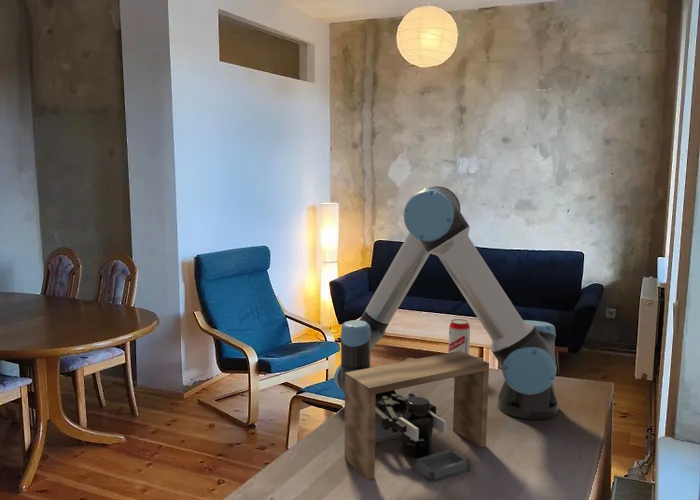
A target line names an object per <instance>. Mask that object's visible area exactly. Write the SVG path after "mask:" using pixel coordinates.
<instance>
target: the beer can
mask: <svg viewBox="0 0 700 500" xmlns="http://www.w3.org/2000/svg"><path fill="white" fill-rule="evenodd" d="M448 327H449V328H448V351H447V353H451V352H457V351H462V352H464V353H467V354H469V355H470V347H471V345H470V344H471V326H470V324H469V321H468V320H467V319H462V318H453V319H452V320H451V321H450V323H449V326H448Z"/></svg>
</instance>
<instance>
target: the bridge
mask: <svg viewBox="0 0 700 500" xmlns="http://www.w3.org/2000/svg"><path fill="white" fill-rule="evenodd" d="M489 371H490V363H489V362H488V361H485V360H483V359H480V358H478V357H476V356H473V355H471V354H470V353H469V354H467V353H464V352H462V351H457V352H451V353H448V352H447V353H440V354H436V355H430V356H426V357H420V358H416V359H414V358H413V359H410V360H404V361H400V362H395V363H388V364H384V365H377V366H373V367H370V368H367V369H362V370H356V371H351V372H346V373H345V393H344V460H345V461H346V462H347V463H348V464H350V465H351V466H352V467H354V469H356V470H357V471H358V473H360V474H361V475H362V476H364V478H365V479H367V480H372V479H375V477H376V476H375V475H376V474H375V470H376V469H375V468H376V467H375V466H376V465H375V464H376V463H375V461H376V459H375V457H376V443H375V394H378V393H382V392H387V391H392V390H394V391H396V390H400V389H404V388H410V387H415V386H419V385H424V384H427V383H433V382H438V381H443V380H446V379H452V378H454V380H453V381H454V384H453V385H454V386H453V414H452V415H453V417H452V423H453V424H452V431H454V432H455V433H457V434H459V435H460V436H462V437H463V438H465V439H467V440H469V442H471V443H473V444H475V445H476V446H478V447H480V448H483V447H487V429H488V428H487V427H488V425H487V424H488V406H489V405H488V401H489V400H488V398H489V378H490V377H489V376H490V375H489V373H490V372H489Z"/></svg>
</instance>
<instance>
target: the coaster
mask: <svg viewBox="0 0 700 500" xmlns="http://www.w3.org/2000/svg"><path fill="white" fill-rule="evenodd" d="M396 416H397V420H399V417H400V416H399V415H397V414H396ZM399 438H402V432H400V431H398V430H397V432H392V427H389V429H388V430H385V429H383V428H382V427H381V426H380V425H379V424H378V423H377V422H375V444H379V443H383V442H387V441H390V440H394V439H399Z"/></svg>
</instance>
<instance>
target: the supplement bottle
mask: <svg viewBox="0 0 700 500" xmlns="http://www.w3.org/2000/svg"><path fill="white" fill-rule="evenodd" d="M429 403H430V401H429V399H427V398H425V397H421V396H416V397H412V398H409V399H408V401H407V409H408V410H406V411H405V412H404V413H403V414H402V416H401V417H402V418H404V419H405V420H407V421H408V422H410V423H411V424H413V425H414V426H416V427H417V428H419V438H418V441H414V440H413V439H412V438H410V437H409V436H407V435H406V434H404V433H402V437H401V444H400V445H401V449H400V450H401V452H402V454H404V456H406V457H409V458H411V459H418V458H422V457H425V456H429V455H432V451H433V440H434V439H433V437H434V436H433V435H434V434H433V433H434V427H433V415H432V414H431V412H429Z"/></svg>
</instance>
